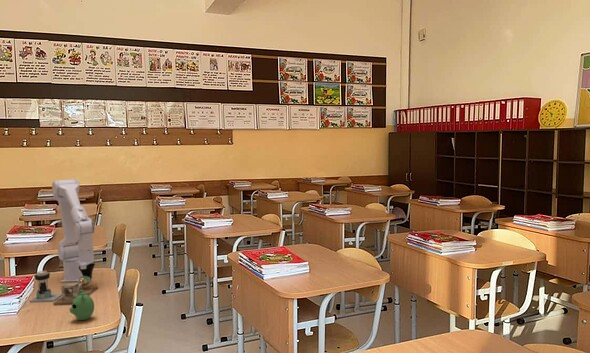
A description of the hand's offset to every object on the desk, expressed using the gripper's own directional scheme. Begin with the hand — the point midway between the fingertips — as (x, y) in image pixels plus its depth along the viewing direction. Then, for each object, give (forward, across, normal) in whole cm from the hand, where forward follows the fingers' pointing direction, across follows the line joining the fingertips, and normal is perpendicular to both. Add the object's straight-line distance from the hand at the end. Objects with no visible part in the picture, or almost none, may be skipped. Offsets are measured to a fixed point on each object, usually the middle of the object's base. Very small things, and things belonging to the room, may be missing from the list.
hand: (88, 282), depth 200 cm
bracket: (+2, +11, -2) cm, 11 cm away
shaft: (0, +9, -2) cm, 9 cm away
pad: (+2, +10, -13) cm, 17 cm away
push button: (+2, +10, -14) cm, 17 cm away
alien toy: (+3, +38, +5) cm, 39 cm away
